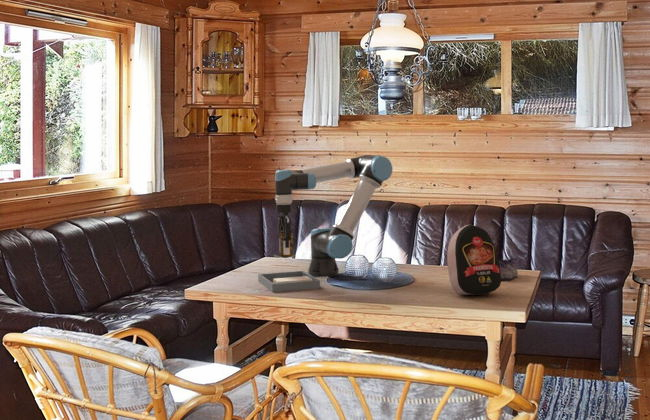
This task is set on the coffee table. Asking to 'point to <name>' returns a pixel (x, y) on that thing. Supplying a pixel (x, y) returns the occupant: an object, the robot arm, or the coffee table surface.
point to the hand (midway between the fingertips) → (284, 253)
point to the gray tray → (279, 287)
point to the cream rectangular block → (291, 279)
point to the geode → (508, 269)
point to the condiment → (283, 247)
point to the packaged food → (473, 262)
